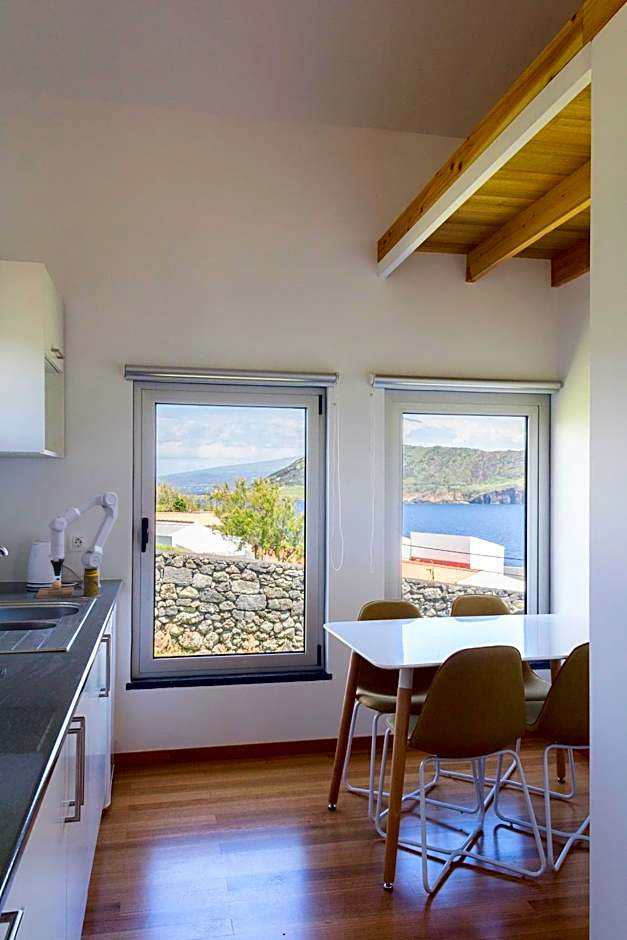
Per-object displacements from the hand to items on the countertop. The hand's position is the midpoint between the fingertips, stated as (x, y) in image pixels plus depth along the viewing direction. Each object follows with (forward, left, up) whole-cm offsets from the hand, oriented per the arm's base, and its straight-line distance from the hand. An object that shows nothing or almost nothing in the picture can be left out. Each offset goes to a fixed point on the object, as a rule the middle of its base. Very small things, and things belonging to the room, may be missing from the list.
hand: (57, 576), depth 351 cm
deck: (+10, 0, -7) cm, 12 cm away
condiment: (+17, +14, -7) cm, 23 cm away
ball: (+6, 0, -3) cm, 7 cm away
